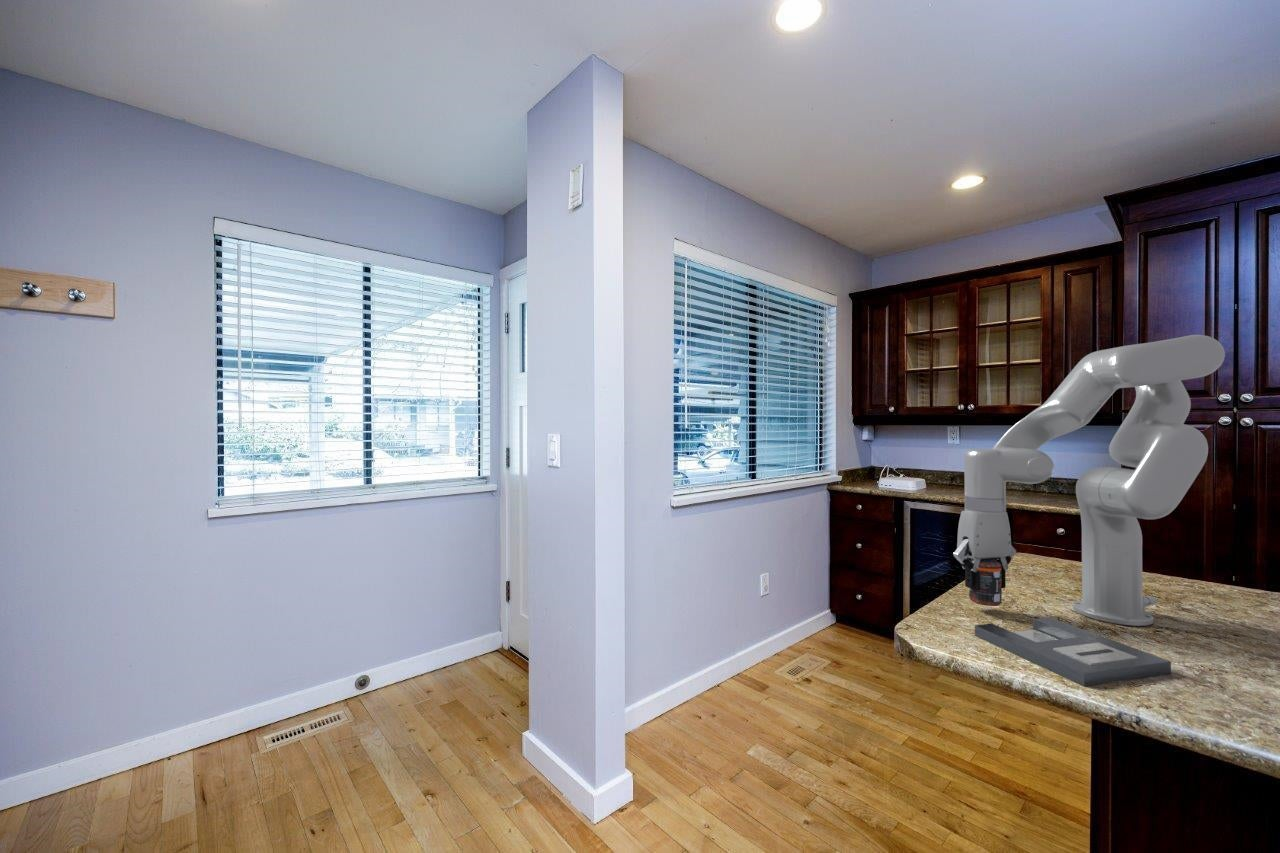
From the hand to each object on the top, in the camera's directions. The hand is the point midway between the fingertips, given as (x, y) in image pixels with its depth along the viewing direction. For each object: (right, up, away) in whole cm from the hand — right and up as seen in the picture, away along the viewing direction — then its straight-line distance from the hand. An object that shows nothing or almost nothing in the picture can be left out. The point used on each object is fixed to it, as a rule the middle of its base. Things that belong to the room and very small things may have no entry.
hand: (985, 586), depth 112 cm
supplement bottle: (0, -4, 0) cm, 4 cm away
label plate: (0, -5, -20) cm, 21 cm away
